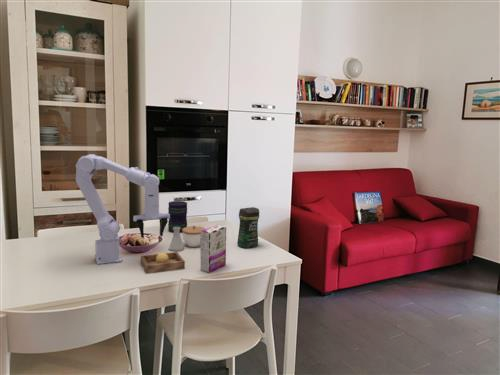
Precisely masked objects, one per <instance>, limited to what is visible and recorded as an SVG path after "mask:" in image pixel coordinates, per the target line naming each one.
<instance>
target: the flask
mask: <svg viewBox="0 0 500 375" xmlns="http://www.w3.org/2000/svg"><path fill="white" fill-rule="evenodd" d="M173 230H174V233H173V236H172V238H171V242H170V244H169V246H168V251H173V252H181V251H183V250H185V245H184V242H183V238H182V236H181V233H180V227H174V228H173Z"/></svg>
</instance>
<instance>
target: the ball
mask: <svg viewBox="0 0 500 375" xmlns="http://www.w3.org/2000/svg"><path fill="white" fill-rule="evenodd" d="M166 253H167V252H159V253H157V254H158V255H157V256H156V262H157V263H158V264H159V263H167V262H168V260H169V258H168V255H167V254H166Z"/></svg>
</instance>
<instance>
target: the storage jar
mask: <svg viewBox="0 0 500 375" xmlns="http://www.w3.org/2000/svg"><path fill="white" fill-rule="evenodd" d="M167 210H168V212H167V213H169V214H170V219H168V222H167V225H168V227H167V228H168V232H169V233H173V234H174V230H173V228H174V227H180V234H183V232H182V229H183V228H185V227H188V220H187V219H188V218H187V216H188V215H187V214H188V202H186V201H183V200H182V201H181V200H174V201H173V200H172V201H169V202H168V208H167Z"/></svg>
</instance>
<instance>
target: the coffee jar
mask: <svg viewBox="0 0 500 375" xmlns="http://www.w3.org/2000/svg"><path fill="white" fill-rule="evenodd" d="M238 218H239V228H238V236H237V246H238V247H240V248H244V249H247V248H248V249H249V248H250V247H251V248H254V247H258V245H259V232H258V229H259V228H258V227H259V226H258V222H259V219H260V209H259V208H257V207H253V206H252V207H244V208H241V207H240V209H239V211H238Z"/></svg>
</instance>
